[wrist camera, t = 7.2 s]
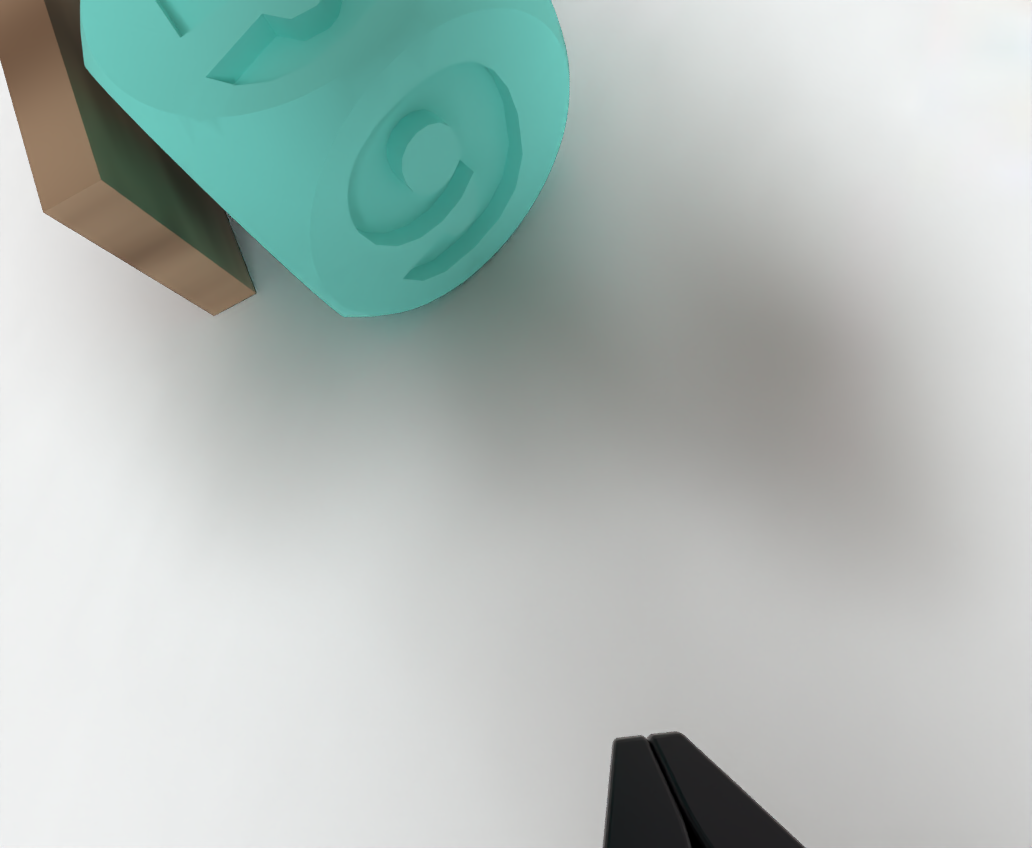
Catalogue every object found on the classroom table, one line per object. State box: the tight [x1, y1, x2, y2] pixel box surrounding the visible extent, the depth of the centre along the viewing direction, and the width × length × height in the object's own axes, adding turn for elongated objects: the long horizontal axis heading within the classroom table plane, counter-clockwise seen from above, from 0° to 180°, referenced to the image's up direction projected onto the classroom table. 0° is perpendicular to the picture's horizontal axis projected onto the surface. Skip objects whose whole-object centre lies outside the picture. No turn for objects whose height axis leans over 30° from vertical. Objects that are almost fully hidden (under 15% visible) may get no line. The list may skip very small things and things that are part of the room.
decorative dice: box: [80, 0, 569, 317], centre depth 16 cm, size 8×8×8 cm
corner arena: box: [0, 0, 256, 316], centre depth 18 cm, size 10×10×6 cm
